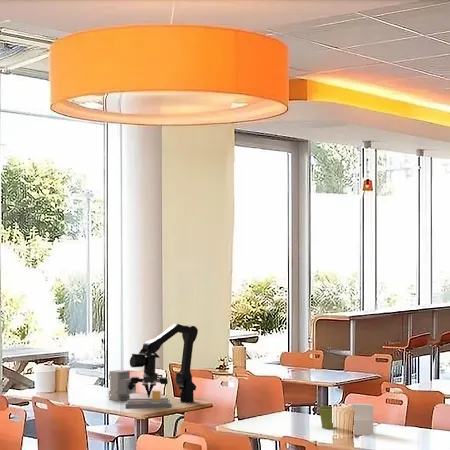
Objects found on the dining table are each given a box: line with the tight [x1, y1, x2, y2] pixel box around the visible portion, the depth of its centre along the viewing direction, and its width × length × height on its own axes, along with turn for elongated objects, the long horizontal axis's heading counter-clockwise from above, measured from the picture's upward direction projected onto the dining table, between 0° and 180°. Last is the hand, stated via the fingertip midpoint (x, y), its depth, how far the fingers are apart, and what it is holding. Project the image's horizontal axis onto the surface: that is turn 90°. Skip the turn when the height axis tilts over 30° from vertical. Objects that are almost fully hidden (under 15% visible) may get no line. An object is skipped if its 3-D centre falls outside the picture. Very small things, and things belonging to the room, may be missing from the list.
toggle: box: [151, 390, 161, 400], centre depth 482 cm, size 4×5×5 cm
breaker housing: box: [125, 397, 171, 409], centre depth 482 cm, size 22×14×3 cm, turn 92°
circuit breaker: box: [108, 369, 137, 401], centre depth 505 cm, size 8×14×15 cm, turn 53°
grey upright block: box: [351, 403, 375, 436], centre depth 397 cm, size 9×9×12 cm
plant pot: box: [317, 405, 333, 430], centre depth 410 cm, size 9×9×9 cm
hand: (148, 397), depth 482 cm, fingers closed
